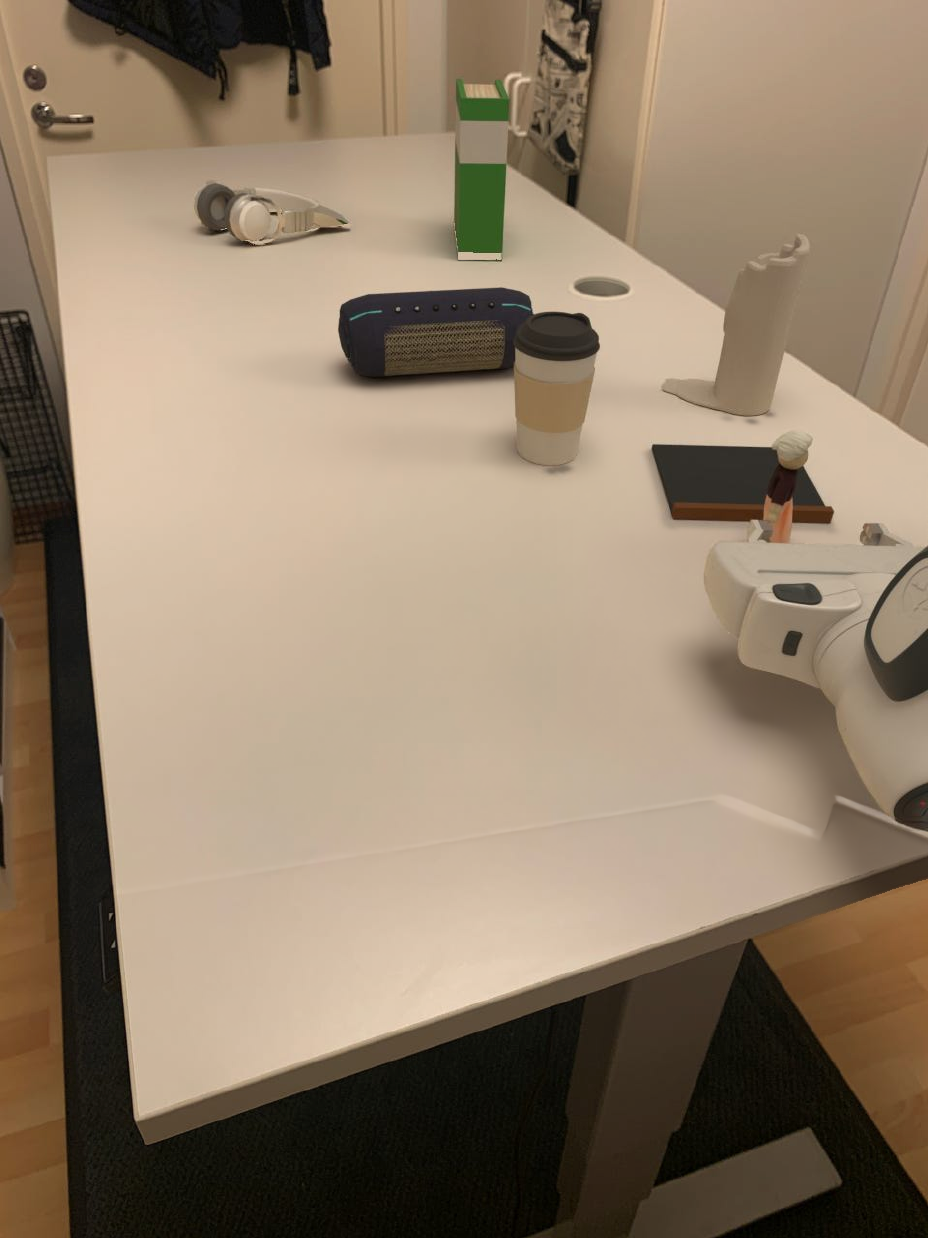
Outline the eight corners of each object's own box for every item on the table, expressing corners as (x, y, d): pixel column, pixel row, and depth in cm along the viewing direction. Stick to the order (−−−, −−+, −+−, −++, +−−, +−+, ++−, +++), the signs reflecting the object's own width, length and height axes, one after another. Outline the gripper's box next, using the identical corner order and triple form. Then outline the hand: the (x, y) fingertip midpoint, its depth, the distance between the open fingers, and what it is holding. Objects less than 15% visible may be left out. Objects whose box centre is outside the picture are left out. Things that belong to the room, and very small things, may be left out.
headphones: (252, 252, 152) (351, 242, 166) (251, 202, 148) (353, 196, 162) (178, 223, 163) (277, 216, 178) (175, 176, 159) (277, 173, 173)
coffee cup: (529, 476, 98) (540, 342, 88) (493, 439, 104) (499, 309, 95) (602, 461, 101) (619, 329, 91) (562, 425, 107) (575, 299, 98)
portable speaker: (346, 392, 113) (341, 313, 107) (338, 359, 120) (333, 283, 114) (540, 379, 117) (547, 301, 111) (521, 348, 125) (526, 274, 118)
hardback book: (454, 229, 167) (456, 78, 151) (494, 229, 167) (500, 79, 152) (458, 260, 153) (460, 98, 138) (501, 260, 153) (509, 99, 138)
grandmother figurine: (790, 575, 85) (827, 454, 77) (748, 570, 85) (780, 449, 77) (782, 530, 91) (815, 413, 83) (743, 526, 91) (772, 409, 83)
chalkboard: (791, 452, 103) (795, 441, 103) (830, 523, 92) (834, 511, 91) (651, 448, 103) (653, 437, 103) (673, 519, 92) (675, 507, 91)
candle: (672, 373, 119) (700, 212, 107) (777, 398, 114) (819, 232, 101) (652, 393, 114) (679, 227, 102) (761, 421, 109) (804, 249, 97)
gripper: (1033, 604, 63) (952, 499, 74) (737, 596, 63) (700, 492, 73) (997, 672, 67) (925, 562, 78) (719, 664, 67) (686, 556, 77)
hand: (813, 528), depth 76 cm, fingers open, 8 cm apart
